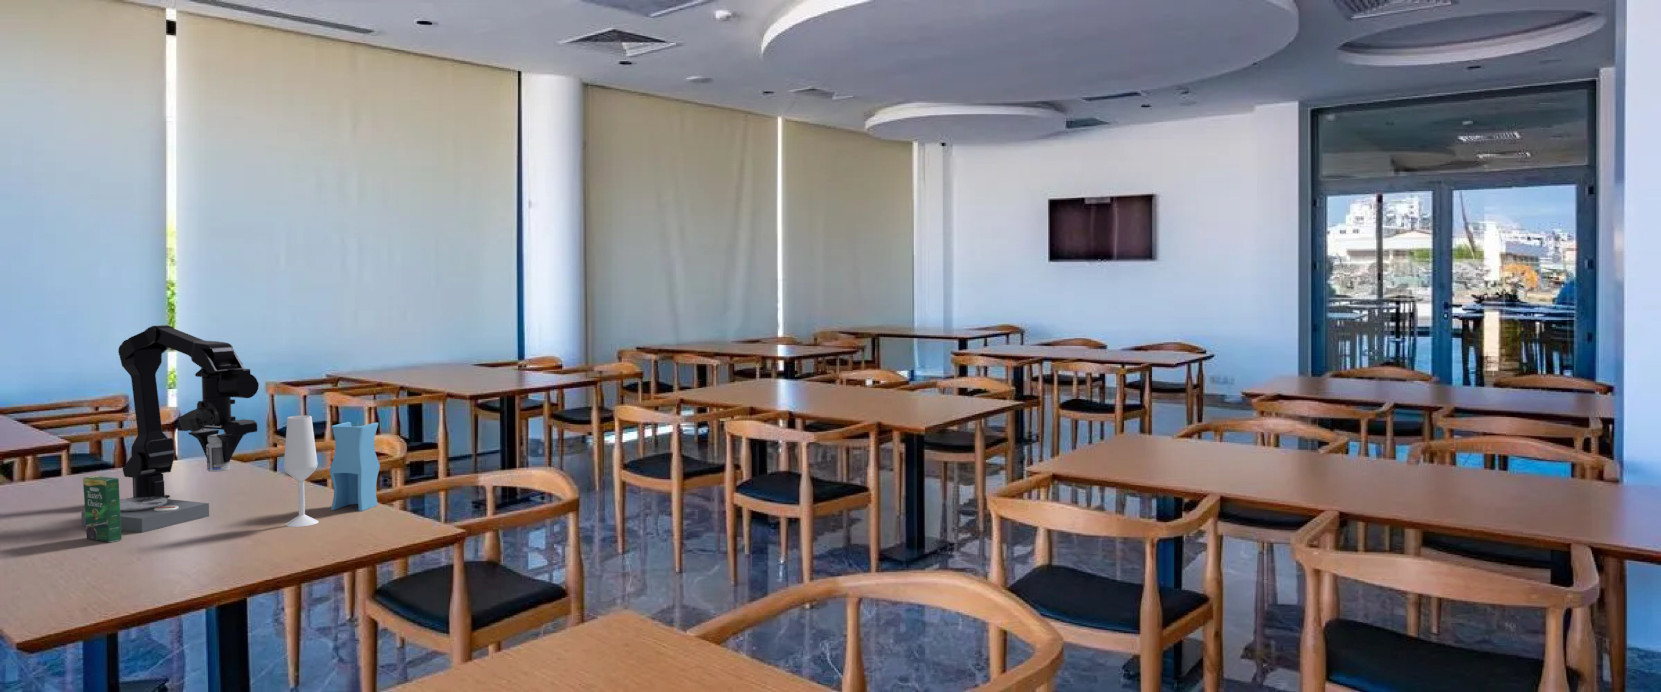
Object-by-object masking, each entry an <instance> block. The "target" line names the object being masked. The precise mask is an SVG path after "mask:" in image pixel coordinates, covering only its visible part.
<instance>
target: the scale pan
mask: <svg viewBox="0 0 1661 692" xmlns="http://www.w3.org/2000/svg"><path fill="white" fill-rule="evenodd" d="M167 499H168V498H165V497H137V498H132V497H129V499H127V498H124V499H120V512H131V511H142V510H149V509H154V508H157V507H161V506H165V505H167Z"/></svg>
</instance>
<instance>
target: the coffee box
mask: <svg viewBox="0 0 1661 692" xmlns="http://www.w3.org/2000/svg"><path fill="white" fill-rule="evenodd" d="M119 481H120V480H119V477H108V476H99V475H93V476H86V477H83V478H82V485H83V499H84V501H83V502H84V511H85V519H86V526H85V531H86V539H88V540H94V541H95V540H96V541H101V542H104V543H113V542H118V541H120V540H122V530H121V518H120V500H121V498H120V482H119Z"/></svg>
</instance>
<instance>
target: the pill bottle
mask: <svg viewBox="0 0 1661 692" xmlns="http://www.w3.org/2000/svg"><path fill="white" fill-rule="evenodd" d="M220 434H221V433H218V434H215V435H209V436H208V442H209V443H208V444H207V445H206V453H207V458H206V471H207V472H212V473H217V472H219V473H220V472H226V471H229V470H230V469H231V460H230V461H229V462H224V459H223V450H222V441H221V440H220V439H219V438H218V437H217V435H220Z"/></svg>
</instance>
